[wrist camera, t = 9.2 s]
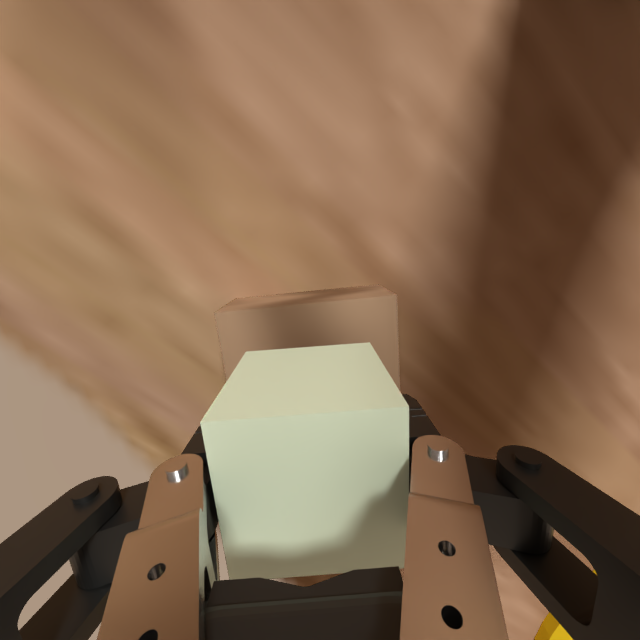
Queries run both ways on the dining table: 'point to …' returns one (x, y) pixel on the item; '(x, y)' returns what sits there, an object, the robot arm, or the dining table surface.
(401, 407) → the sage wooden cube
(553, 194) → the dining table surface
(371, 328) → the tan square block
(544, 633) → the decorative medallion
